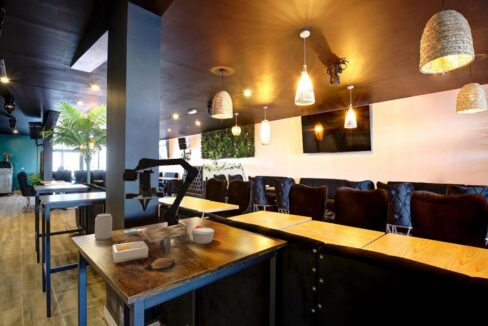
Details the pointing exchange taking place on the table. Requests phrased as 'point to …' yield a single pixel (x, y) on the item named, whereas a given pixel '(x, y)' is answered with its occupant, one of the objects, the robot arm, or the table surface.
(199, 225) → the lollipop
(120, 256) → the bin
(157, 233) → the chute
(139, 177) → the robot arm
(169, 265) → the bread roll
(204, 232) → the ramekin
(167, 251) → the pivot stand
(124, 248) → the ball
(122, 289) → the table surface
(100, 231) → the can
